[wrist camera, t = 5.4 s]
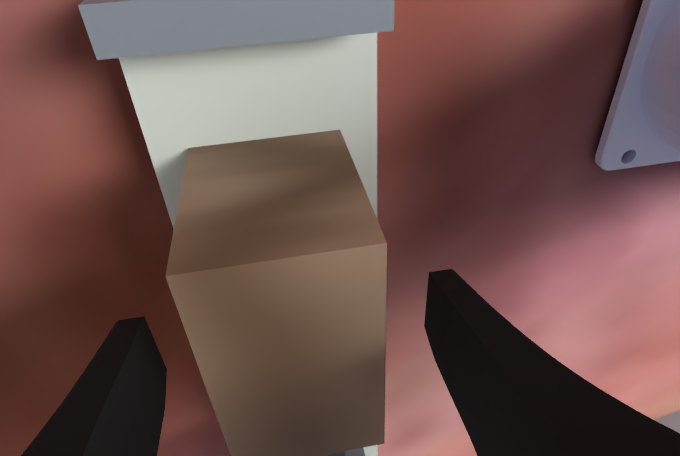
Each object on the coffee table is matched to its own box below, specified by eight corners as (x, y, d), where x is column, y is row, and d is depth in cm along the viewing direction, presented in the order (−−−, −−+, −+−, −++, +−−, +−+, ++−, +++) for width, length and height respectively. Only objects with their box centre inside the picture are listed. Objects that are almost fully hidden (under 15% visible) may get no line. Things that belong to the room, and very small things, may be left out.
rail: (363, -43, 12) (461, 19, 7) (371, 455, 26) (404, 597, 21) (111, -23, 11) (5, 64, 6) (261, 477, 25) (268, 629, 20)
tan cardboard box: (340, 129, 13) (387, 243, 9) (349, 322, 17) (384, 454, 13) (187, 147, 12) (165, 275, 8) (239, 341, 17) (240, 483, 13)
